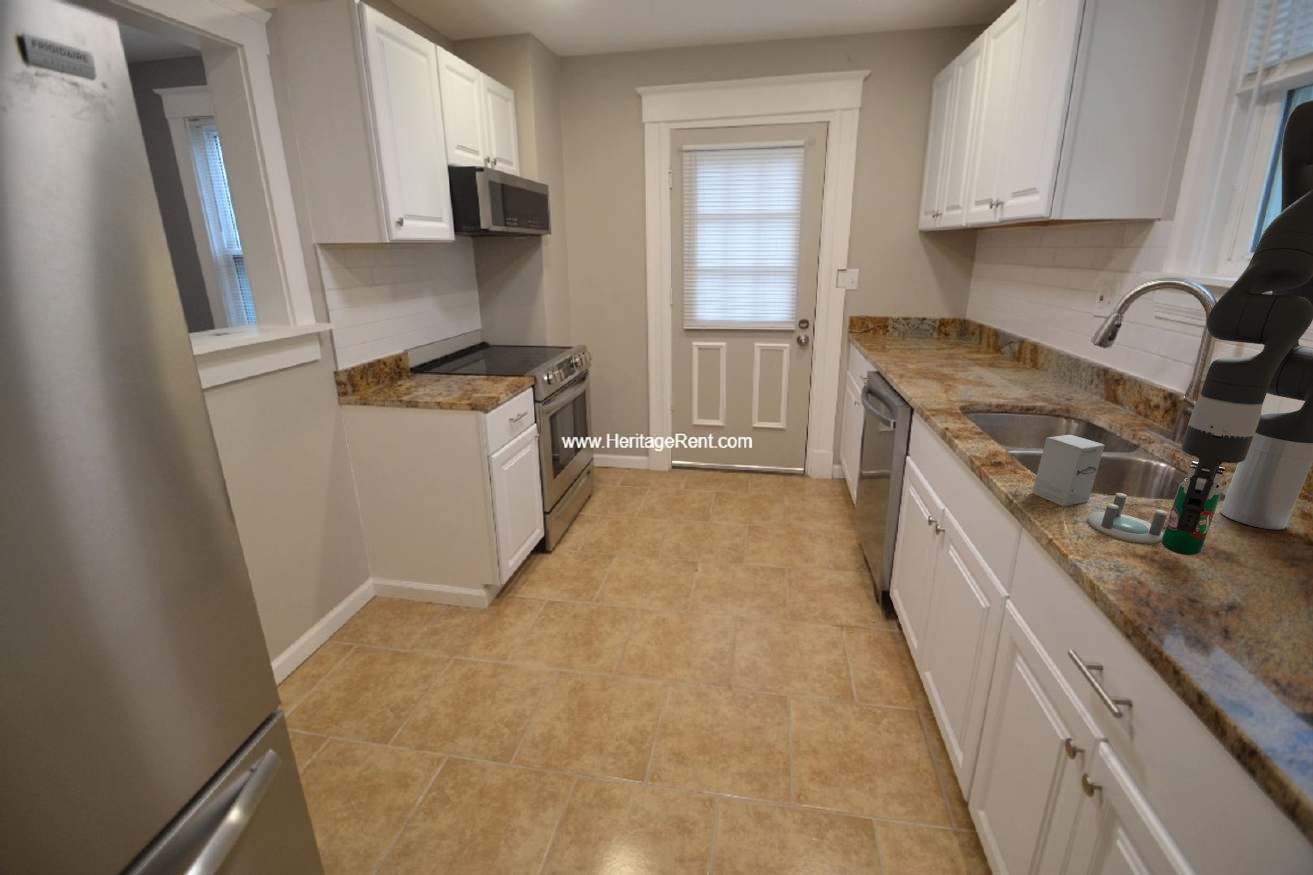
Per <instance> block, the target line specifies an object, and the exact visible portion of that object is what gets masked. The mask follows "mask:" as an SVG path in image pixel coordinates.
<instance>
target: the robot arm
mask: <svg viewBox="0 0 1313 875" xmlns="http://www.w3.org/2000/svg"><path fill="white" fill-rule="evenodd" d="M1281 142H1282V143H1281V203H1280V204H1281V207H1280V213H1279V214H1278V215H1277V216H1276V217H1275V218H1274V219H1273V220H1272V221H1270V223H1269V224H1268V226H1267V227H1266V229H1265V230H1264V232H1262V235H1261V238H1260V239H1259V242H1258V243H1257V245H1256V247H1255V250H1254V252H1253V255H1252V256H1251V259H1250V260H1249V263H1248V265H1247V267H1246V268H1245V270H1244V271H1243V272H1242V274H1241V275H1240V276H1239V277H1238V279H1237V280H1236V281H1235V282H1234V283H1233V284H1232V285H1231V287H1229V289H1228V290H1226V291H1225V293H1224V294H1223V295H1222V296H1221V297H1220V298H1219V299H1218V300H1217V302H1216V303H1215V304H1214V305H1213V307H1212V308H1211V310H1210V312H1209V314H1208V317H1207V320H1206V329H1207V331H1208V332H1209V334H1210V335H1211V336H1212V337H1213V338H1214V339H1216V340H1219V341H1225V342H1234V343H1236V342H1237V343H1245V344H1246V343H1247V344H1252V345H1254V344H1255V345H1264V346H1263V349H1262V350H1261V351H1260V353H1257V354H1255V355H1251V356H1236V357H1235V356H1234V357H1229V356H1228V357H1227V356H1226V357H1220V358H1217V359H1215V360H1213V361H1212V362H1211V363H1210V365H1209V367H1208V370H1207V372H1206V375H1205V376H1206V377H1205V379H1204V382H1203V385H1202V389H1201V392H1200V395H1199V397H1198V399H1197V401H1196V403H1195V405H1194V406H1193V409H1192V412H1191V416H1190V419H1189V421H1188V425H1187V428H1186V430H1185V433H1184V437H1183V440H1182V444H1181V447H1180V448H1181V450H1182V451H1183V453H1185V454H1187V455H1189V456H1192V457H1195V458H1197V459H1198V461H1191V464H1190V465H1189V468H1188V471H1187V476H1188V477H1187V478H1188V480H1187V483H1186V485H1185V488H1184V493H1185V494H1186V496H1185V499H1184V502H1183V503H1182V504H1181V506H1182V508H1183V510H1182V513H1181V516H1180V519H1179V522H1178V525H1177V529H1178V530H1180V531H1183V532H1187V533H1194V532H1195V530H1196V527H1197V524H1198V521H1199V518H1200V515H1201V513H1202V512H1203V511H1204V510H1205V508H1204V507H1205V504H1206V501H1207V500H1208V499H1211V498H1212V497H1213V494H1214V491H1215V489H1216V486H1217V484H1218V485H1219V483H1221V481H1222V478H1223V475H1224V473H1225V470H1226V467H1222V466H1221V465H1222V464H1223V463H1227V464H1237V465H1236V468H1235V471H1234V473H1233V476H1232V479H1231V480H1230V481H1231V482H1230V484H1229V486H1228V489H1227V492H1226V494H1225V497H1224V500H1223V503H1222V504H1221V509H1220V513H1221V514H1222V515H1223V516H1225V517H1226V518H1228V519H1230V520H1233V521H1236V522H1238V523H1241V524H1244V525H1248V526H1251V527H1257V528H1261V529H1266V530H1267V529H1268V530H1275V531H1276V530H1284V529H1286V527H1287V525H1288V523H1289V520H1290V519H1291V515H1292V514H1293V510H1294V508H1295V507H1296V506H1295V505H1296V503H1297V501H1298V499H1299V496H1300V493H1301V492H1302V489H1303V487H1304V484H1305V482H1306V479H1307V477H1308V474H1309V472H1310V469H1311V467H1312V465H1313V347H1305V346H1301V345H1300V342H1299V341H1300V339H1301V338H1302V337H1303V335H1304V334H1305V333H1306V332H1307V330H1308V329H1309V327H1310V325H1311V324H1312V322H1313V99H1309V100H1306V101H1302V102H1301V103H1299V104H1297V105H1296V106H1295V107H1294V108H1293V109H1292V110H1291V111H1290V114H1289V115H1288V118H1287V120H1286V123H1285V125H1284V130H1283V134H1282V141H1281ZM1269 292H1271V294H1269ZM1267 293H1268V294H1267ZM1267 394H1268V395H1272V396H1276V397H1281V398H1287V399H1292V400H1296V401H1302V402H1304V403H1303V404H1302V406H1301V407H1300V409H1297V410H1295V411H1291V412H1283V413H1282V412H1281V413H1279V412H1278V413H1265V414H1262V409H1263V405H1264V403H1265V402H1264V401H1265V399H1266V396H1267ZM1211 486H1212V487H1211ZM1190 498H1194V499H1198V500H1201V501H1202V502H1201V505H1200V504H1196V503H1192V502H1189V499H1190Z"/></svg>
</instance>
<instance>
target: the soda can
mask: <svg viewBox="0 0 1313 875" xmlns="http://www.w3.org/2000/svg"><path fill="white" fill-rule="evenodd" d="M1187 480H1188V477H1186V478H1184V479H1183V481H1182V482H1181V483H1179V486H1178V488H1177V490H1176V494H1175V498H1174V500H1173V503H1172V506H1171V510H1170V511H1169V515H1168V519H1167V522H1166V525H1165V527H1164V531H1163V536H1162V539H1161V541H1160V542H1161V544H1162V546H1163V548H1165V549H1166V550H1168V551H1170V552H1172V553H1174V554H1179V555H1182V556H1183V555H1184V556H1196V555H1199V554H1200V553H1201V552H1202V549H1203V547H1204V543H1205V541H1206V539H1207V535H1208V533H1209V531H1210V530H1209V529H1210V527H1211V524H1212V521H1213V518H1214V515H1215V513H1216V509H1217V507H1218V504H1219V502H1220V499H1221V496H1222V492H1221V490H1220V489H1221V485H1220V484H1219V483H1218V484H1217V486H1216V489H1215V491H1214V494H1213V497H1212V498H1211V499H1208V500H1207V501H1206V504H1205V507H1204V508H1205V510H1204V511H1203V512H1202V513H1201V515H1200V518H1199V521H1198V524H1197V527H1196V530H1195V532H1194V533H1187V532H1183V531H1180V530H1178V529H1177V525H1178V522H1179V519H1180V516H1181V513H1182V510H1183V508H1182V506H1181V504H1182V503H1183V502H1184V499H1185V496H1186V494H1185V493H1184V488H1185V485H1186V483H1187ZM1211 487H1212V486H1211ZM1189 502H1192V503H1196V504H1200V505H1201V502H1202V501H1201V500H1198V499H1194V498H1190V499H1189Z"/></svg>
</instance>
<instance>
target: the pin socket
mask: <svg viewBox="0 0 1313 875" xmlns="http://www.w3.org/2000/svg"><path fill="white" fill-rule="evenodd" d="M1127 498H1128V495H1127V494H1125V493H1122V492H1116V493H1115V497H1114V500H1113V502H1112V503H1106V508H1105V511H1095V512H1091V513H1090V514H1089V515H1088V519H1087V522H1088V524H1089V525H1090V526H1091V527H1092V528H1094V529H1095V530H1097V531H1099V532H1100V533H1103V534H1105V535H1107V536H1110V537H1113V538H1116V539H1118V540H1122V541H1128V542H1130V543H1131V542H1133V543H1138V544H1157V543H1159V542H1161V539H1162V536H1163V533H1164V531H1163V528H1164V525H1165V522H1166V519H1167V516H1168V514H1169V513H1168V512H1167V511H1165V510H1162V509H1155V511H1154V515H1153V517H1152V521H1151V523H1150V522H1148V521H1145V520H1143V519H1141V518H1137V517H1135V516H1130V515H1128V514H1123V509H1124V505H1125V504H1126V500H1127Z"/></svg>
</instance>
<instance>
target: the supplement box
mask: <svg viewBox="0 0 1313 875" xmlns="http://www.w3.org/2000/svg"><path fill="white" fill-rule="evenodd" d="M1104 449H1105V444H1103V443H1101V442H1097V441H1094V440H1089V439H1087V438H1085V437H1084V438H1083V437H1080V436H1076V435H1073V434H1064V435H1057V436H1056V435H1055V436H1048V437H1046V438H1045V442H1044V446H1043V451H1042V453H1041V456H1040V457H1041V458H1040V460H1039V463H1038V464H1039V465H1038V469H1037V473H1036V476H1035V480H1034V484H1033V489H1032V492H1031V493H1032V494H1034V495H1035V496H1037V497H1039V498H1042V499H1045V500H1047V501H1050V502H1053V503H1054V504H1057V505H1058V506H1062V507H1069V506H1072V505H1073V506H1074V505H1077V504H1083V503H1088V502H1089V500H1090V496H1091V493H1092V490H1093V486H1094V483H1095V480H1096V475H1097V473H1098V471H1099V467H1100V463H1101V459H1102V456H1103V452H1104Z"/></svg>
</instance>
